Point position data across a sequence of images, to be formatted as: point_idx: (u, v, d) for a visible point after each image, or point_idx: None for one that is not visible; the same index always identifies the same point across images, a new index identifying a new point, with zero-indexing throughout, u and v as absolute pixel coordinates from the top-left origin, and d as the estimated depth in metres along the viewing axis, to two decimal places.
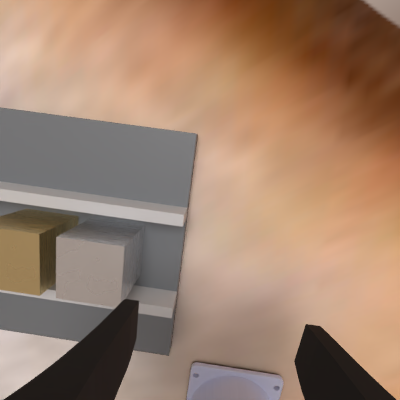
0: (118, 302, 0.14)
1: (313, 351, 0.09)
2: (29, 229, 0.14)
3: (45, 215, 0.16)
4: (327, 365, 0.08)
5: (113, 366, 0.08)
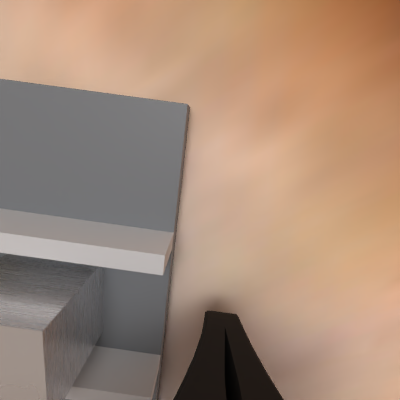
0: None
1: None
2: None
3: None
4: (226, 351, 0.08)
5: None
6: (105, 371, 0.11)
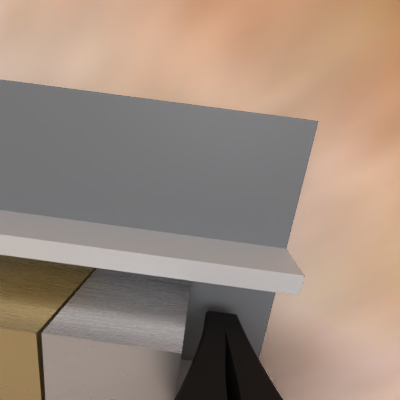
0: None
1: None
2: (15, 319, 0.07)
3: (45, 266, 0.09)
4: (225, 351, 0.08)
5: None
6: None
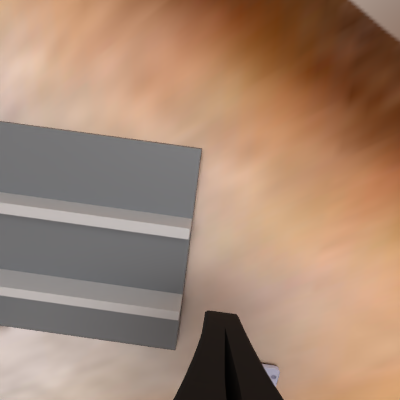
0: None
1: None
2: None
3: None
4: (226, 351, 0.08)
5: None
6: (151, 300, 0.18)
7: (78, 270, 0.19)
